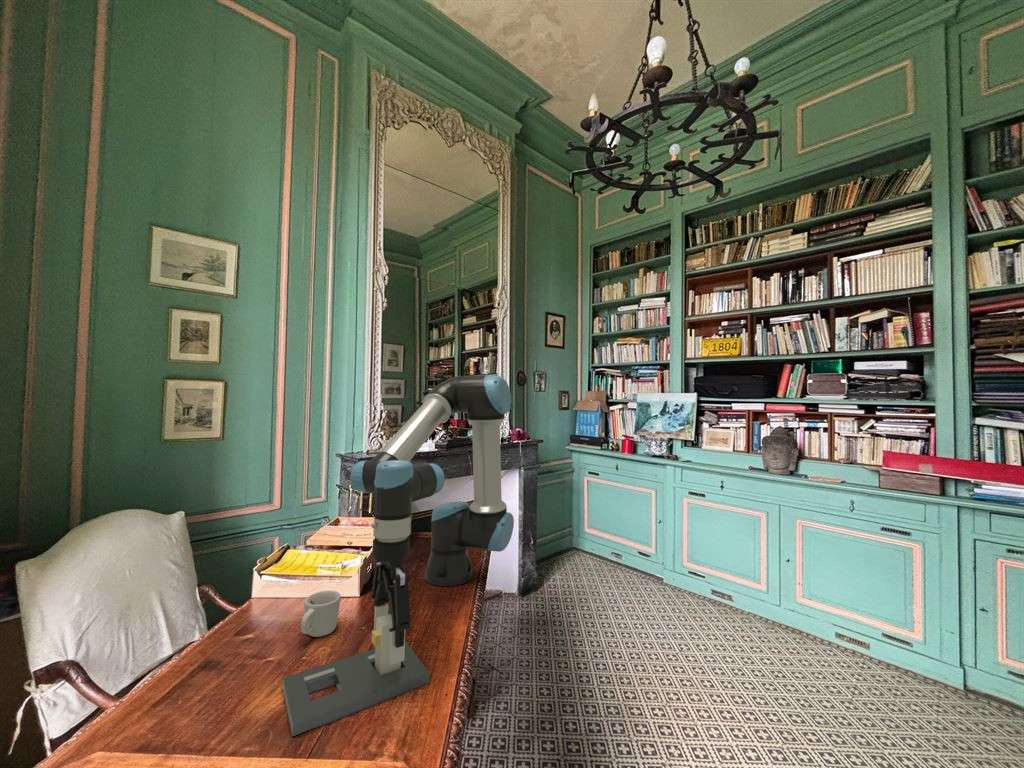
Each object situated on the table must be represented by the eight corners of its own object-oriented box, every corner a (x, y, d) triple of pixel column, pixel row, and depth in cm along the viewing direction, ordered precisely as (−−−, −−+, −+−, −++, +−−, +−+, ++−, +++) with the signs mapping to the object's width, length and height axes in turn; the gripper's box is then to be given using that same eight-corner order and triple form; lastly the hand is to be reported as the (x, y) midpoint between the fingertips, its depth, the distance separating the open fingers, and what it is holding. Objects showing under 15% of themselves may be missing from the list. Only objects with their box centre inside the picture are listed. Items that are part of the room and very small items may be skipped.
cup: (317, 650, 91) (318, 613, 92) (286, 645, 93) (287, 608, 93) (346, 625, 102) (347, 592, 102) (317, 621, 103) (319, 588, 104)
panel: (403, 648, 92) (404, 638, 92) (429, 683, 81) (429, 672, 81) (282, 688, 78) (283, 677, 78) (292, 737, 67) (292, 724, 67)
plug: (393, 666, 86) (395, 612, 86) (400, 676, 82) (402, 620, 83) (369, 675, 83) (371, 619, 83) (374, 686, 80) (377, 627, 80)
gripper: (359, 526, 91) (355, 629, 90) (392, 556, 73) (387, 686, 72) (392, 521, 96) (388, 620, 94) (430, 549, 78) (427, 671, 76)
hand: (388, 648), depth 83 cm, fingers open, 9 cm apart
